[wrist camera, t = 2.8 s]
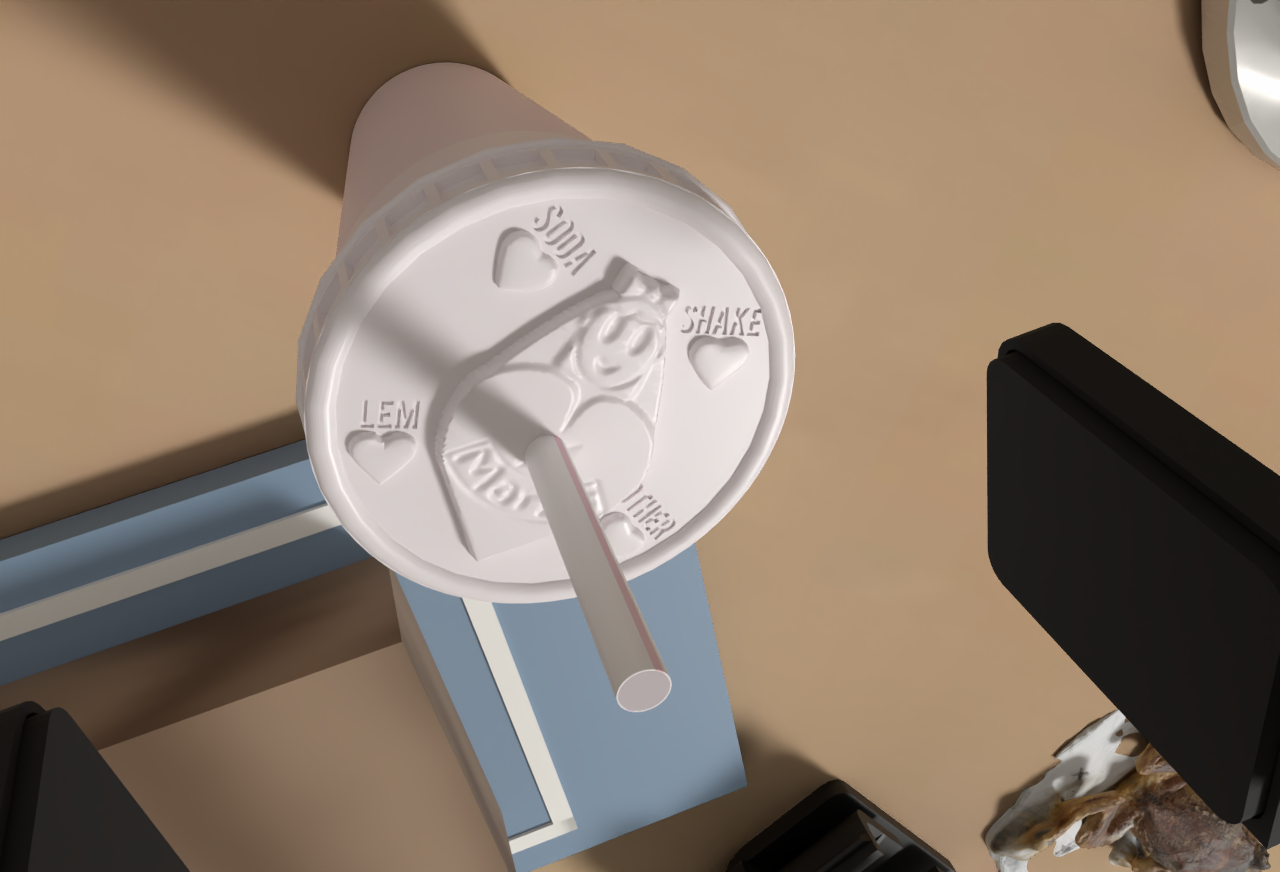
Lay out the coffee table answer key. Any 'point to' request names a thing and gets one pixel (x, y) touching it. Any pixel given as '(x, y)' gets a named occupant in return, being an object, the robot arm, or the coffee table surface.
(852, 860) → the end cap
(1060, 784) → the frog figurine
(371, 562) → the plinth
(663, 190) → the smoothie
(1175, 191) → the coffee table surface
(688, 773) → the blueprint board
